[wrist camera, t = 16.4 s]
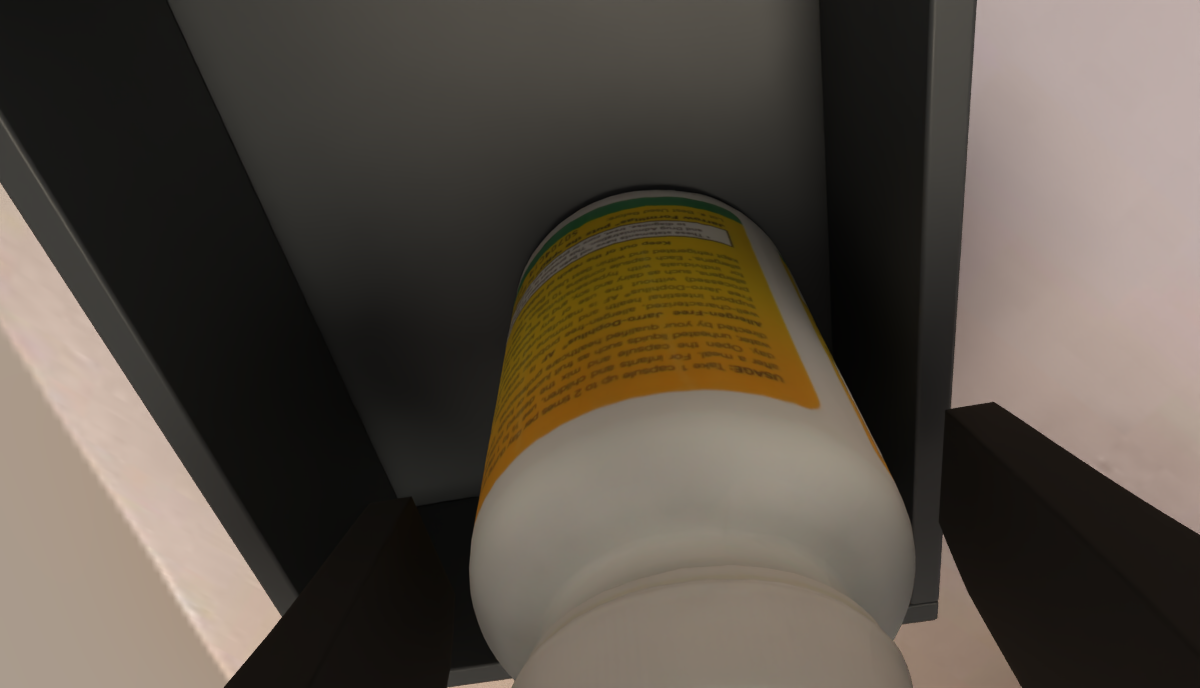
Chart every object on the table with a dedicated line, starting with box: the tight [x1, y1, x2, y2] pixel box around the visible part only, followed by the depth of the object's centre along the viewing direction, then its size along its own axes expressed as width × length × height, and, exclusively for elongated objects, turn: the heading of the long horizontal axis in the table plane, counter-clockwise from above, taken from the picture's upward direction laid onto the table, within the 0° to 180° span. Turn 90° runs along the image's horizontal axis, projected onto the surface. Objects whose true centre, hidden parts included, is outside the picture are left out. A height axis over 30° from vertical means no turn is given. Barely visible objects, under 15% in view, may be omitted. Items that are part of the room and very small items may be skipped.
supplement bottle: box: [469, 190, 916, 688], centre depth 11 cm, size 5×5×10 cm
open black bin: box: [0, 0, 977, 687], centre depth 12 cm, size 13×11×5 cm
